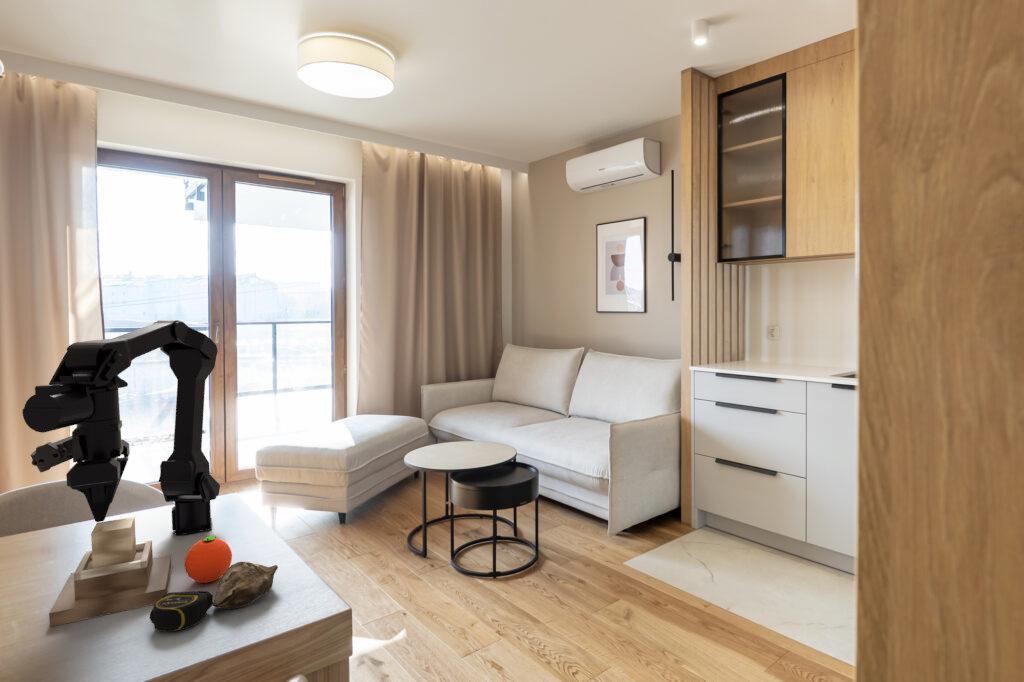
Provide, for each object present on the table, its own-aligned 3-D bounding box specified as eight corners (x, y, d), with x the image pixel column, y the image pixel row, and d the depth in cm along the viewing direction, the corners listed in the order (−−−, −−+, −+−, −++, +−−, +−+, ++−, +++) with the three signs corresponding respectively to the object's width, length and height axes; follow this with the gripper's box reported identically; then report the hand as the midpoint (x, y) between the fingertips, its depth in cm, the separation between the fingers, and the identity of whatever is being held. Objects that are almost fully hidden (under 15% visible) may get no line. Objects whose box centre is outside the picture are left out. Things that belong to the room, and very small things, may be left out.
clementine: (194, 571, 96) (192, 530, 95) (238, 566, 97) (236, 526, 97) (179, 593, 88) (177, 549, 87) (227, 587, 90) (225, 544, 89)
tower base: (171, 565, 98) (170, 532, 97) (165, 601, 85) (164, 563, 85) (71, 585, 91) (69, 549, 91) (49, 626, 79) (47, 585, 78)
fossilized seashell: (231, 607, 79) (292, 589, 87) (222, 560, 81) (283, 547, 90) (203, 622, 82) (265, 603, 90) (196, 577, 84) (257, 563, 93)
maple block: (136, 552, 91) (134, 517, 91) (132, 564, 87) (130, 527, 87) (98, 559, 89) (96, 522, 89) (93, 572, 84) (91, 533, 84)
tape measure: (215, 610, 83) (215, 585, 83) (193, 636, 76) (192, 610, 76) (168, 612, 82) (167, 588, 82) (141, 639, 76) (140, 612, 75)
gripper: (48, 414, 95) (54, 504, 96) (18, 436, 78) (25, 543, 79) (127, 407, 100) (132, 492, 101) (114, 426, 84) (120, 527, 85)
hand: (104, 512), depth 91 cm, fingers open, 9 cm apart
